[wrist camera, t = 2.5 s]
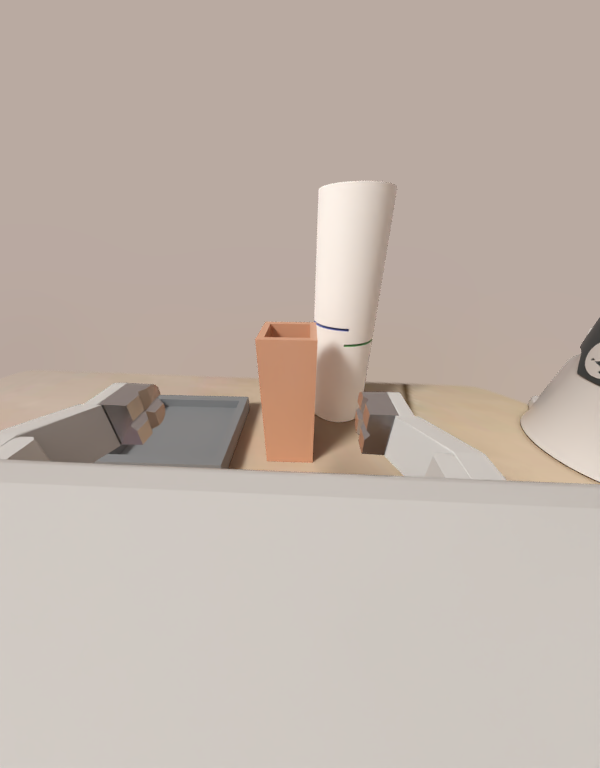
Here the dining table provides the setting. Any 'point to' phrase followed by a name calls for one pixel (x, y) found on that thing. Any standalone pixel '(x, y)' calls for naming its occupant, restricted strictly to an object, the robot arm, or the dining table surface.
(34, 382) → the dining table surface
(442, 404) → the dining table surface
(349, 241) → the cylindrical container
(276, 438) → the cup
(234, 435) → the tray
